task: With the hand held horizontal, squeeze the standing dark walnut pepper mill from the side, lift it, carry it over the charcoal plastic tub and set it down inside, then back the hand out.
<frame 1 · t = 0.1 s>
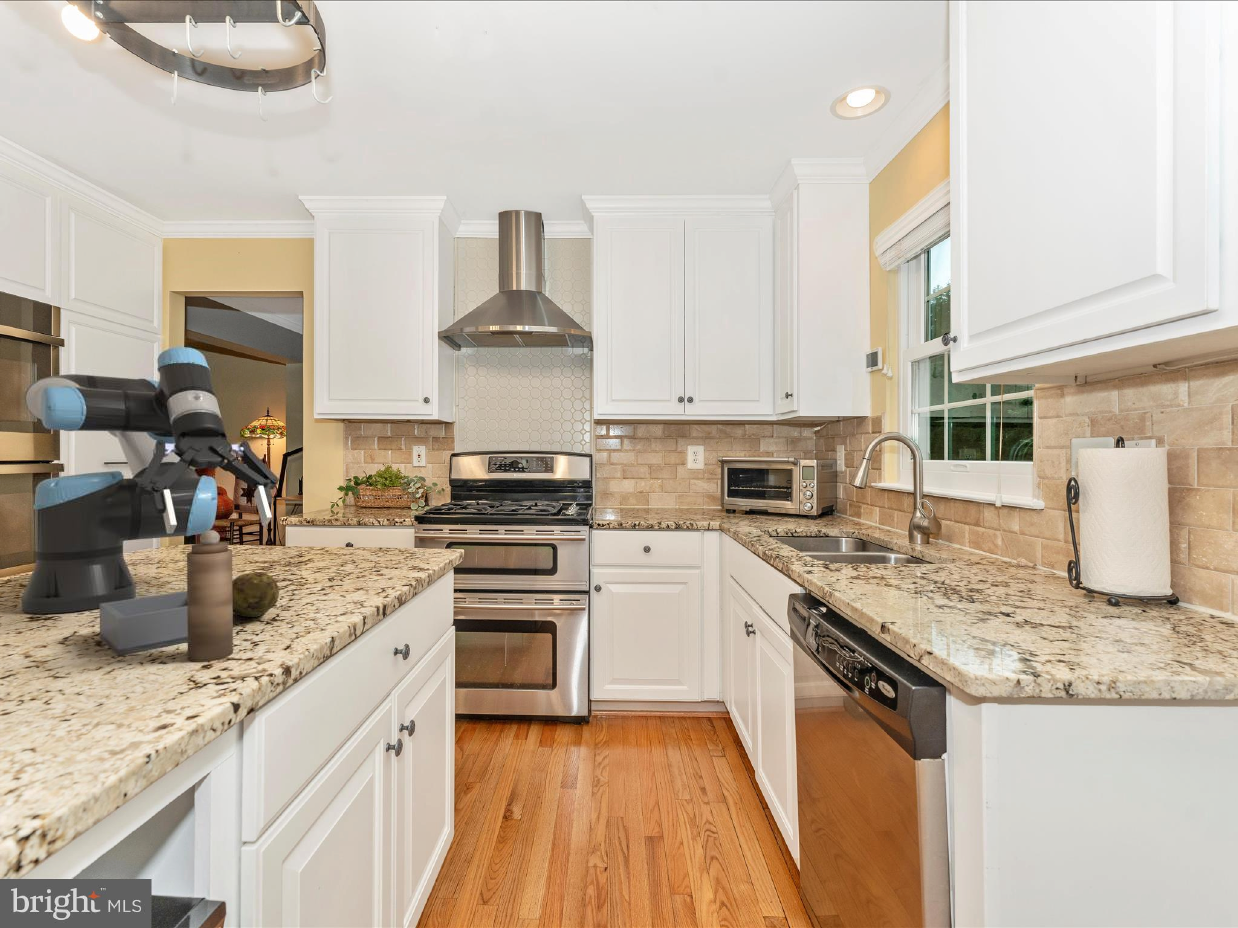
hand: (222, 525, 98), 15 cm above the countertop, tool tilted 35°, fingers open, 13 cm apart
pepper mill: (210, 655, 80), on the countertop
tub: (161, 636, 88), on the countertop
potato: (249, 619, 98), on the countertop
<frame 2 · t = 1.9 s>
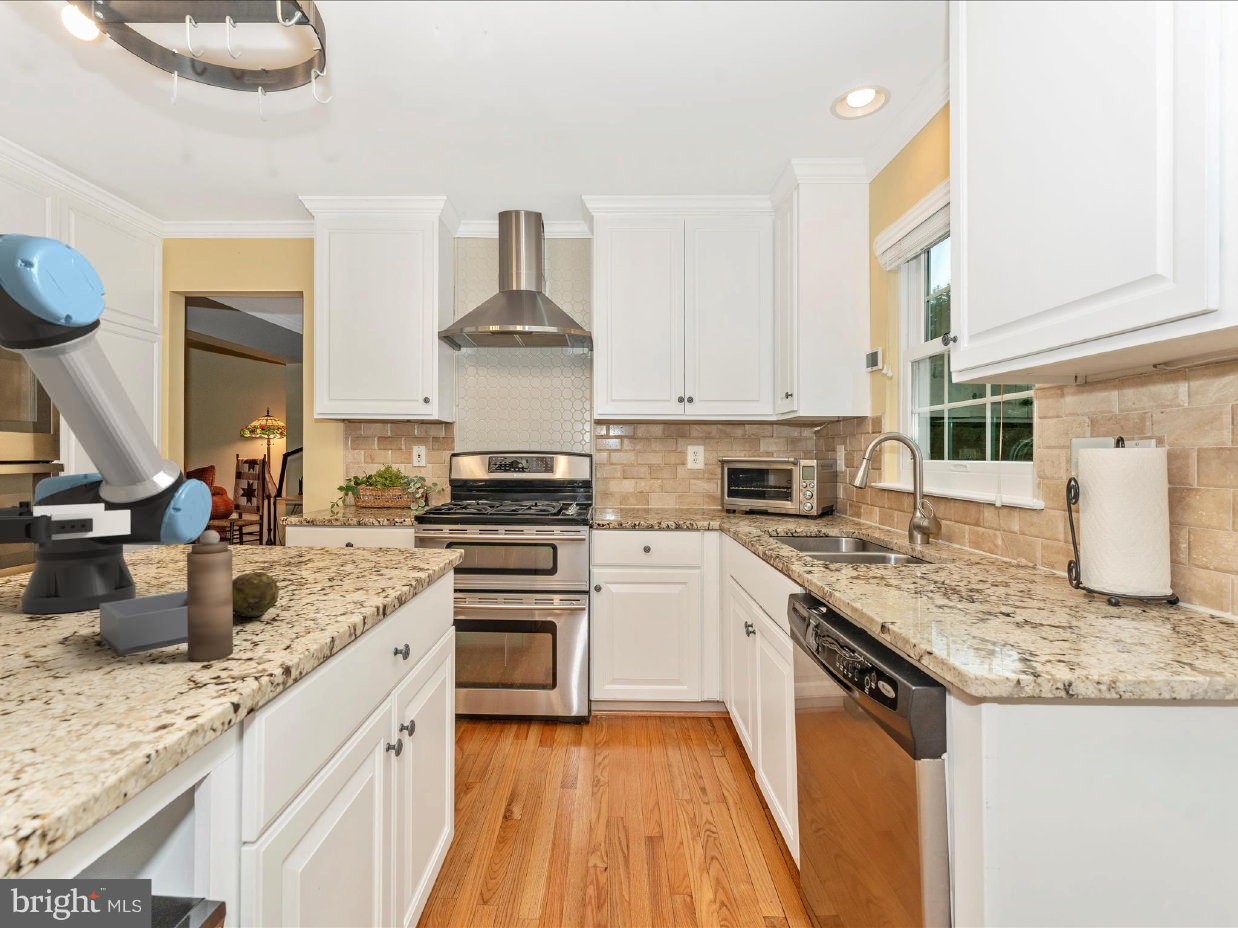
hand: (116, 517, 72), 19 cm above the countertop, tool horizontal, fingers open, 13 cm apart
nothing on the countertop moved.
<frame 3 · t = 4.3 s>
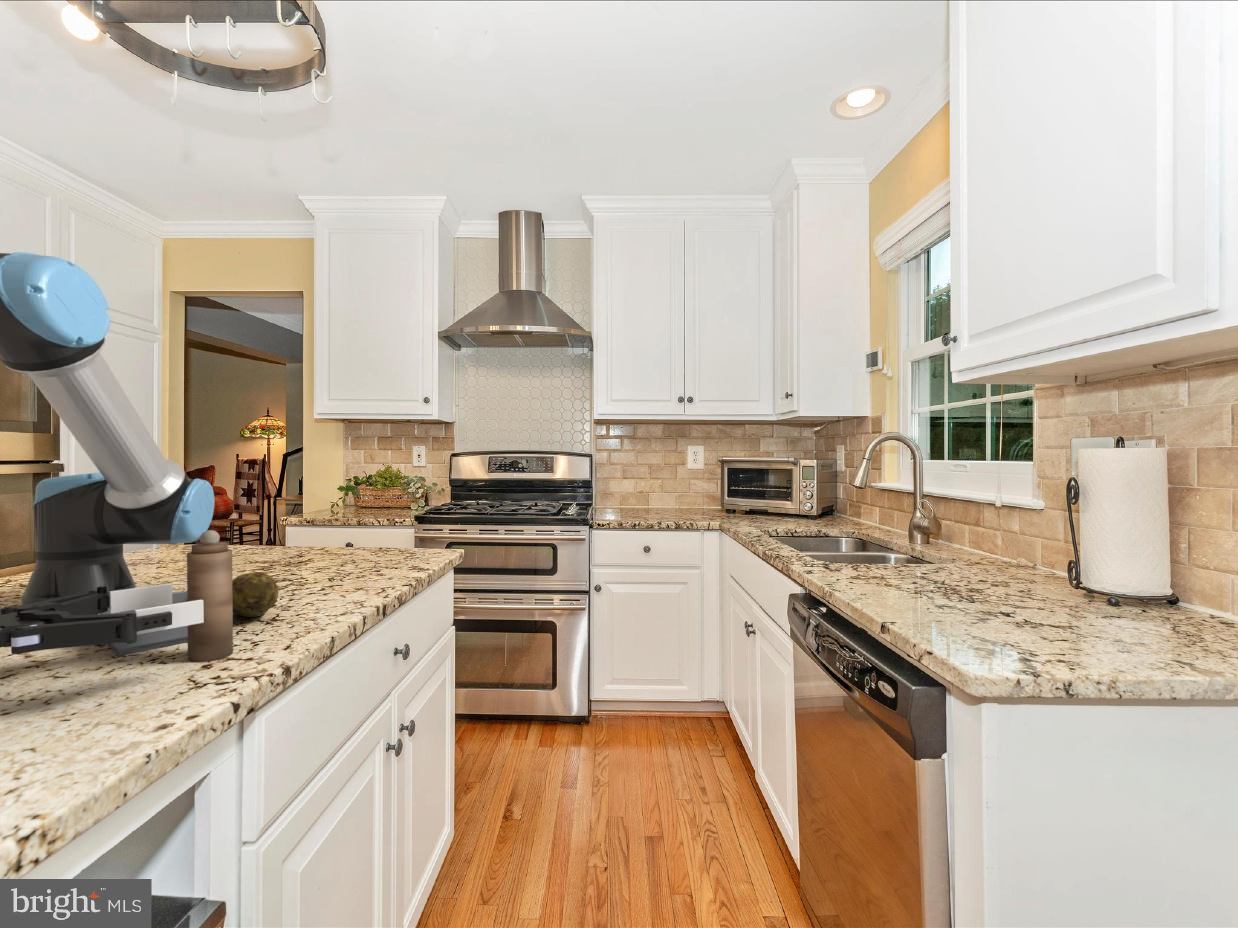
hand: (186, 601, 77), 8 cm above the countertop, tool horizontal, fingers open, 13 cm apart
nothing on the countertop moved.
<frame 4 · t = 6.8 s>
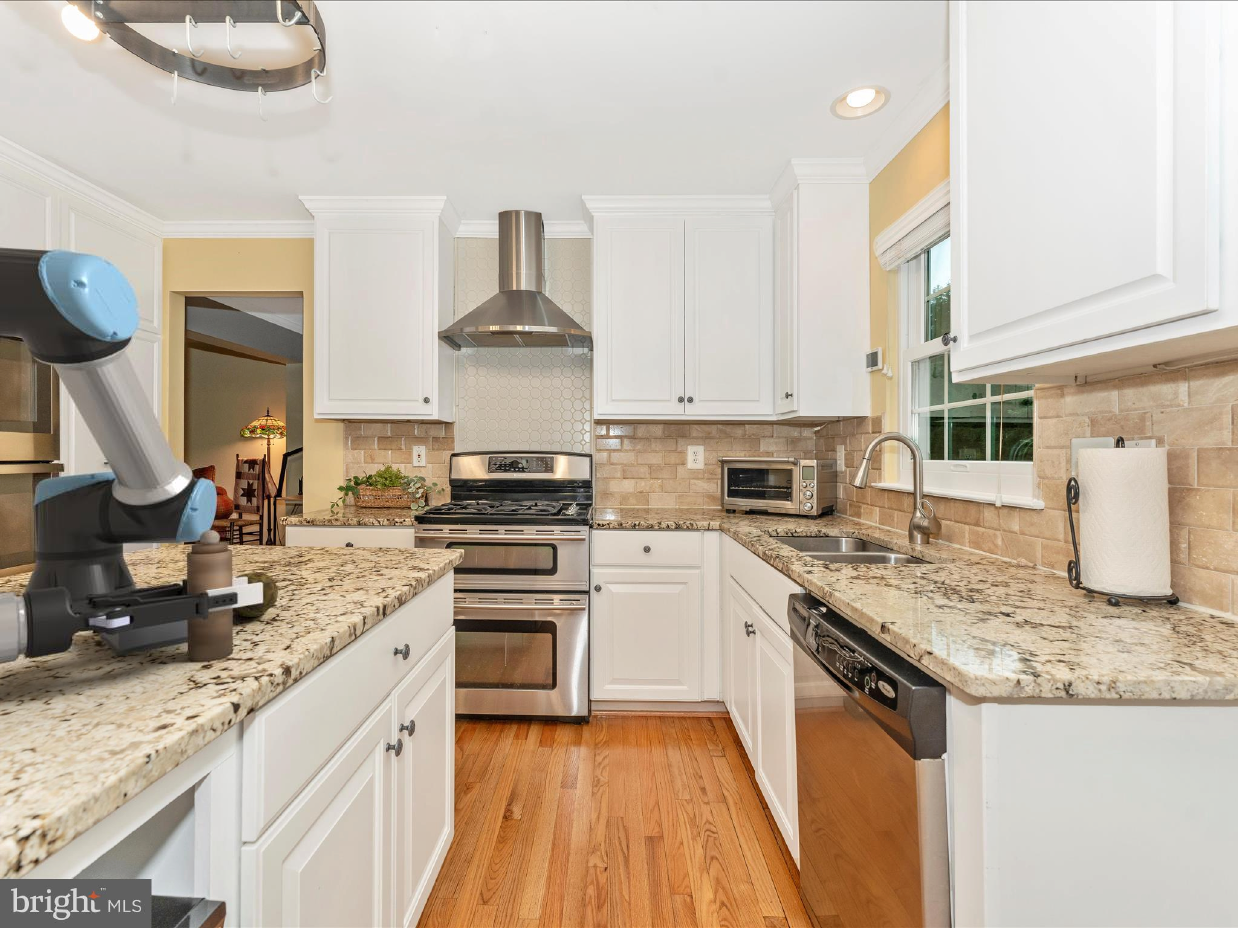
hand: (253, 589, 84), 8 cm above the countertop, tool horizontal, fingers closed on pepper mill, 5 cm apart
pepper mill: (210, 655, 80), on the countertop, touching gripper
everything else where it was.
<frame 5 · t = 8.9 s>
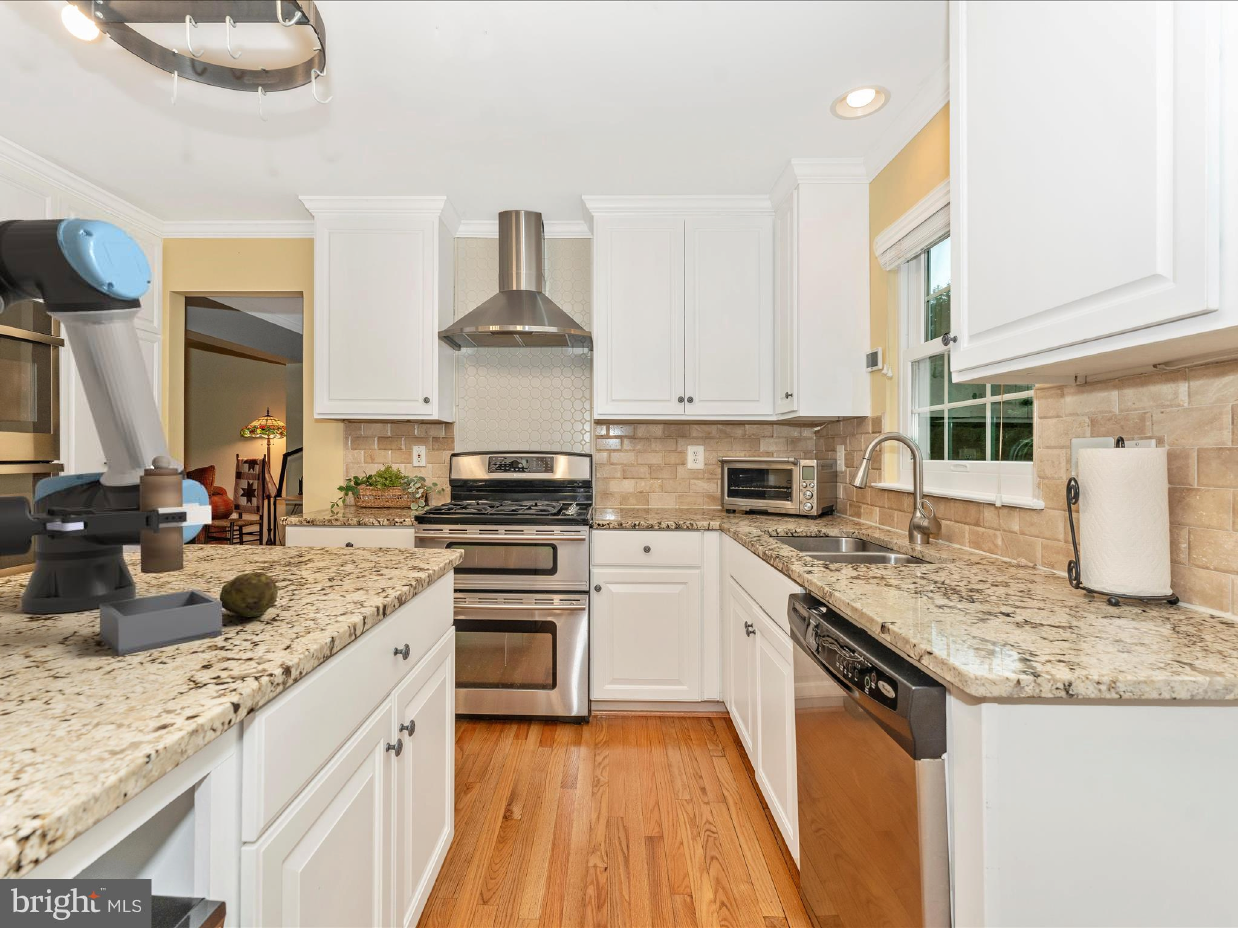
hand: (203, 513, 92), 18 cm above the countertop, tool horizontal, fingers closed on pepper mill, 5 cm apart
pepper mill: (162, 569, 88), point 10 cm above the countertop, touching gripper
everything else where it was.
when the fingers open (10 cm above the countertop, at t = 11.1 s): pepper mill drops 1 cm, resting on tub.
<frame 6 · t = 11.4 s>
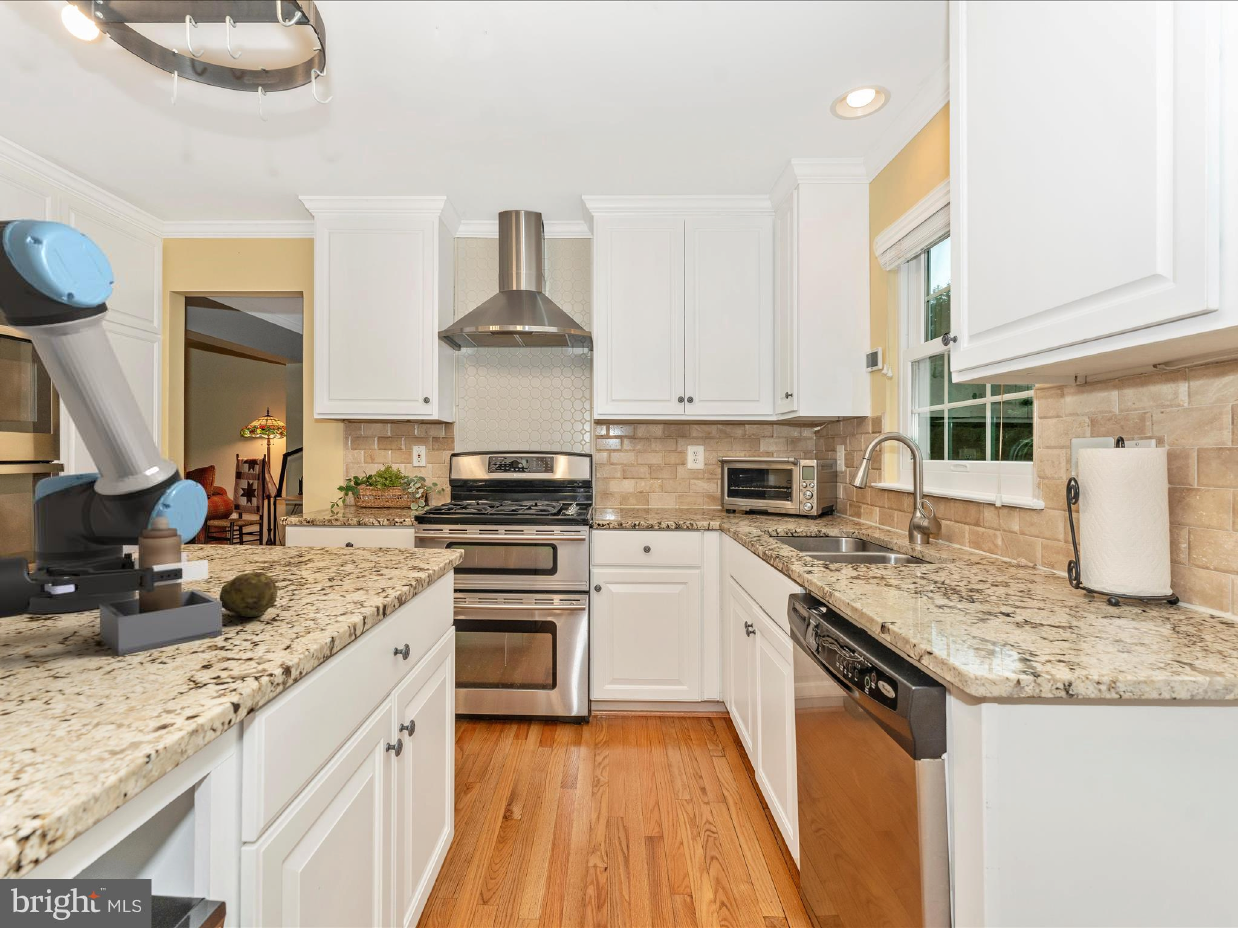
hand: (196, 564, 91), 10 cm above the countertop, tool horizontal, fingers open, 9 cm apart
pepper mill: (160, 630, 88), point 1 cm above the countertop, touching tub
everything else where it was.
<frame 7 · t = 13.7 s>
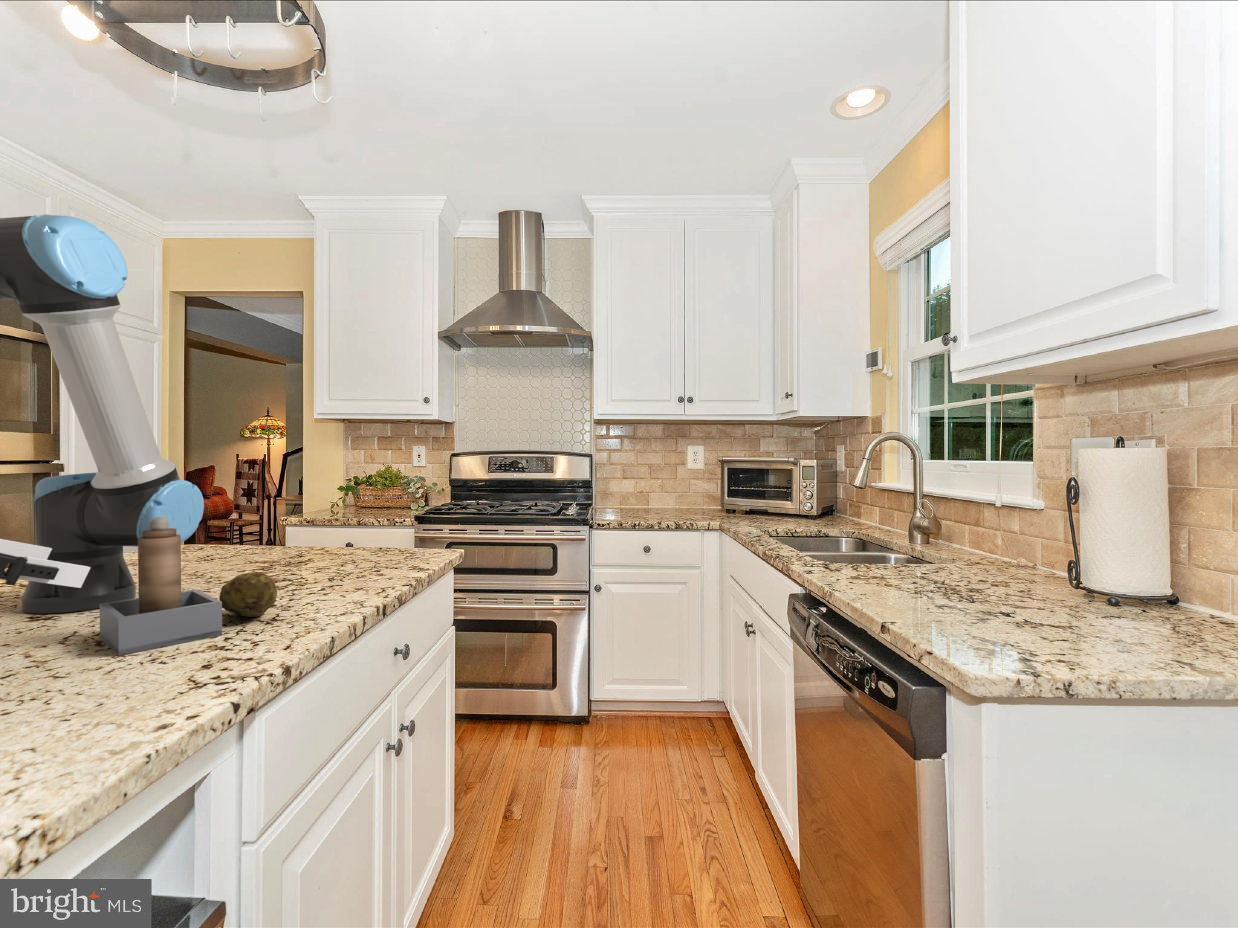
hand: (65, 566, 81), 12 cm above the countertop, tool tilted 70°, fingers open, 13 cm apart
nothing on the countertop moved.
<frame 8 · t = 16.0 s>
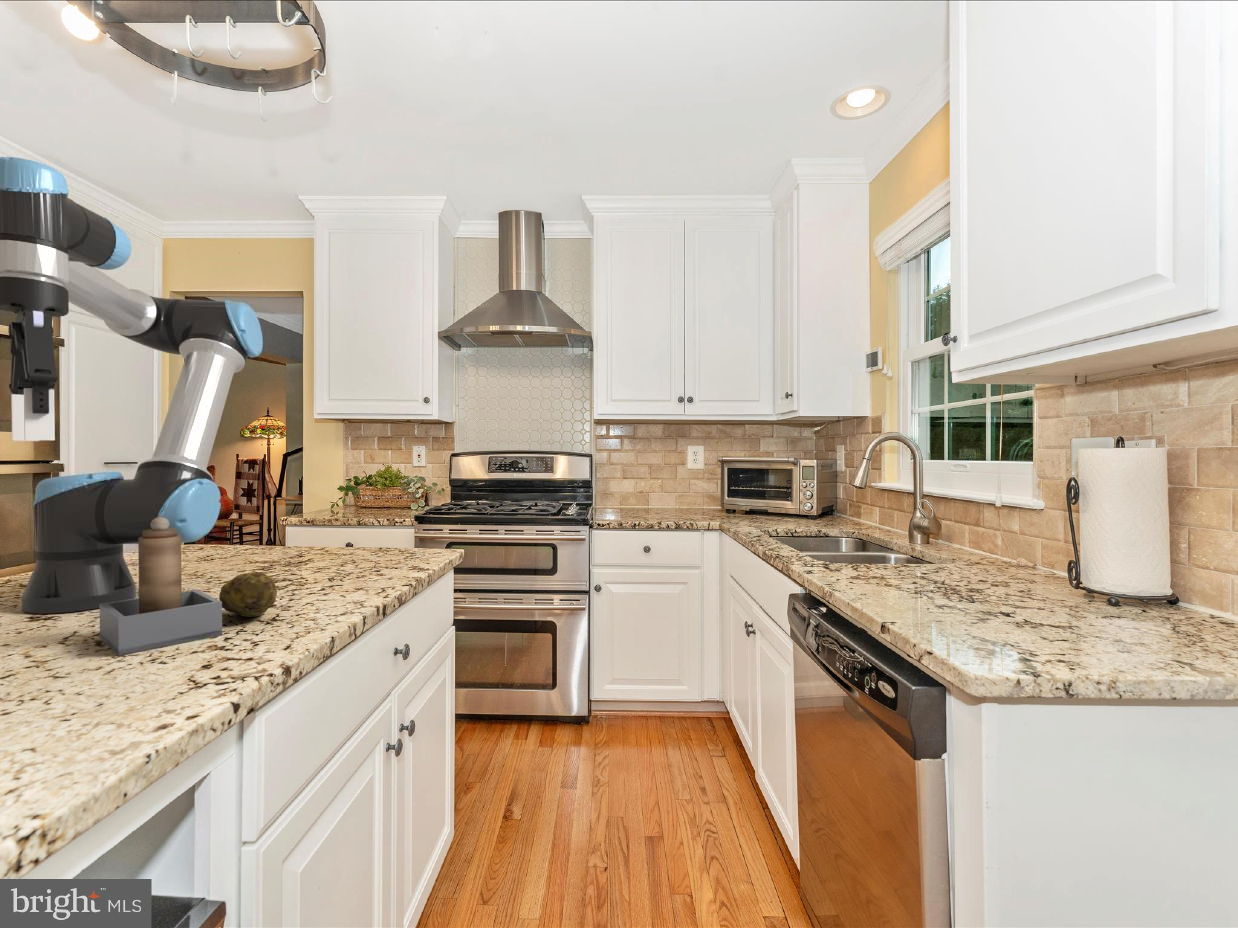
hand: (32, 441, 80), 29 cm above the countertop, tool pointing down, fingers open, 13 cm apart
nothing on the countertop moved.
at the end: pepper mill inside the target area on the tub (0.1 cm from its centre), point 0.8 cm above the tub's base; pepper mill tilted 0°; the gripper is holding nothing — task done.
